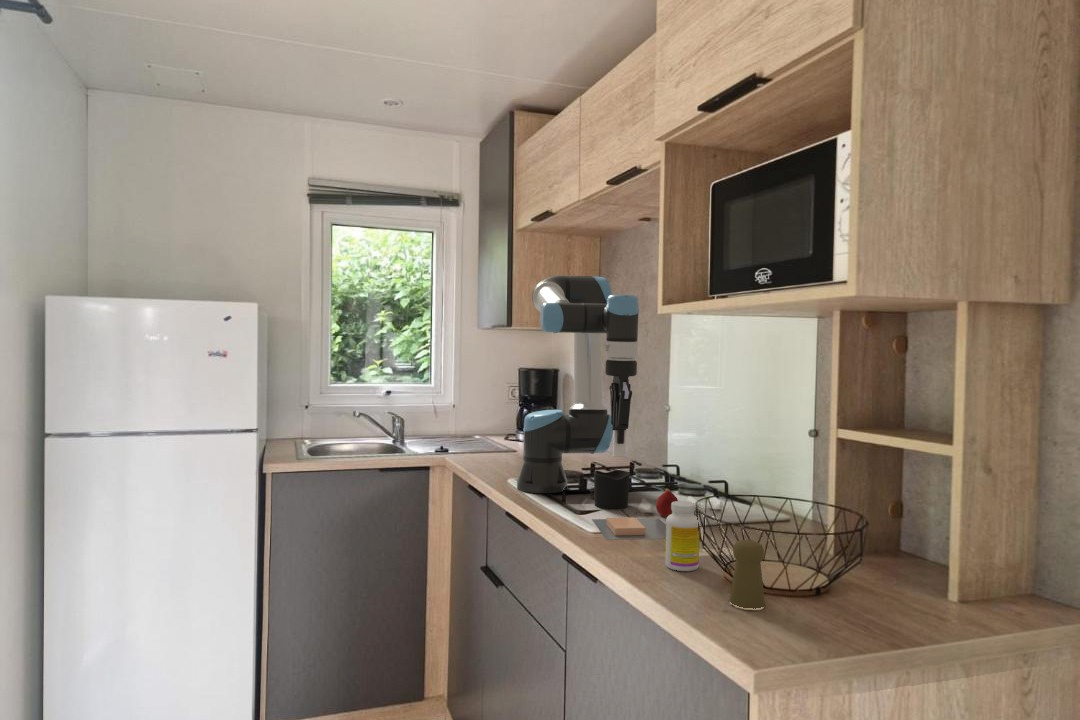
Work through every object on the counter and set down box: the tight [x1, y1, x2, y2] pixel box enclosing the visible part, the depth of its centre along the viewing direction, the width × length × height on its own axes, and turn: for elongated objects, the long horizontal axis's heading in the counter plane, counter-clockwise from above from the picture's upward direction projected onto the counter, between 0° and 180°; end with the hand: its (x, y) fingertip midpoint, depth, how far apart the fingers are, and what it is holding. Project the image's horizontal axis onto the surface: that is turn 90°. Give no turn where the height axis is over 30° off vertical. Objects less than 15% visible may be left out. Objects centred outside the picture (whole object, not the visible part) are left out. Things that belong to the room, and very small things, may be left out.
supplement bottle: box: [664, 500, 701, 572], centre depth 140 cm, size 7×7×13 cm
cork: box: [729, 539, 766, 609], centre depth 121 cm, size 6×6×11 cm
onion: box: [655, 488, 679, 518], centre depth 176 cm, size 6×6×8 cm
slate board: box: [591, 517, 666, 541], centre depth 164 cm, size 17×17×1 cm
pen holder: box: [593, 469, 631, 511], centre depth 186 cm, size 9×9×10 cm
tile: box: [605, 517, 646, 536], centre depth 162 cm, size 2×7×9 cm
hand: (618, 456), depth 170 cm, fingers closed
